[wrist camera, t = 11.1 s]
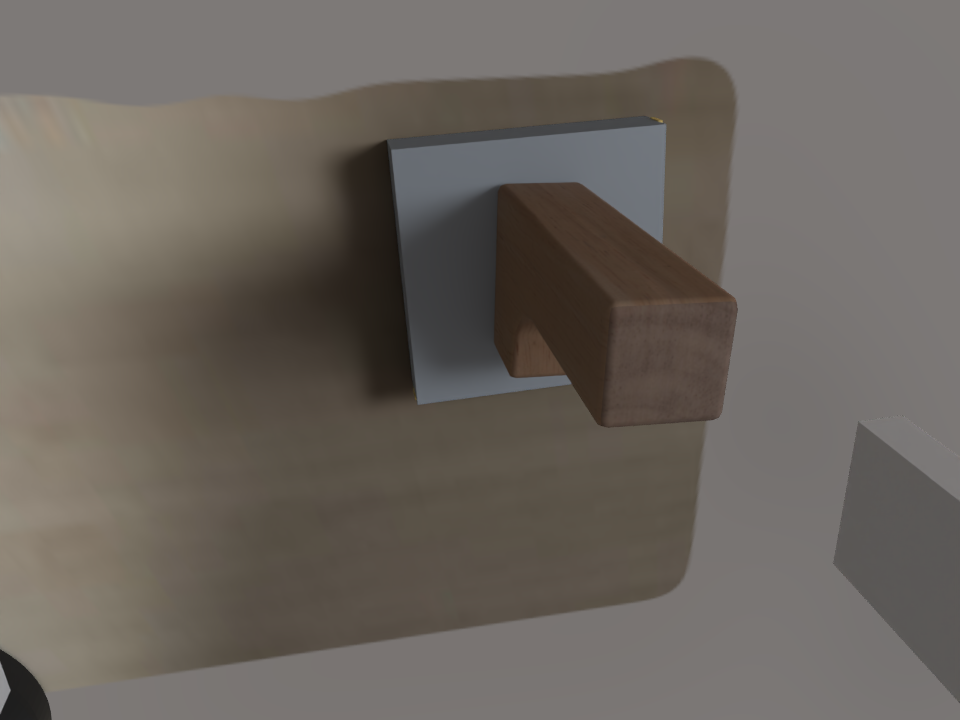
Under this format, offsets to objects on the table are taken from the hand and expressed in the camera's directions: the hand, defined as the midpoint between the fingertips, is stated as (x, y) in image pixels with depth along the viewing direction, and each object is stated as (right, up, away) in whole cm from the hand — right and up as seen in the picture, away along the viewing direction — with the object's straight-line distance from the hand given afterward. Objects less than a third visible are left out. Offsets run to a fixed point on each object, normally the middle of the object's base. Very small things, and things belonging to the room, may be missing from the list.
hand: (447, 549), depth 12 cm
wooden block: (+3, +8, +32) cm, 33 cm away
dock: (+3, +9, +34) cm, 35 cm away
